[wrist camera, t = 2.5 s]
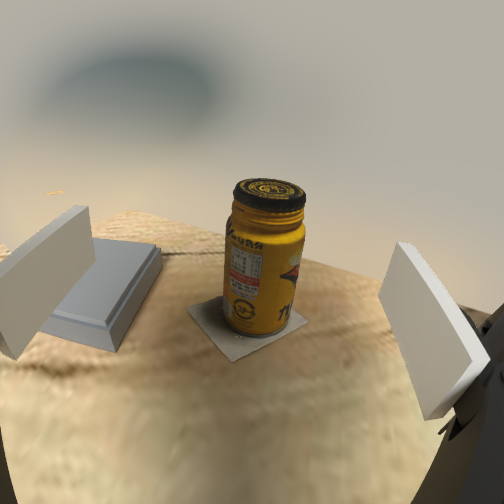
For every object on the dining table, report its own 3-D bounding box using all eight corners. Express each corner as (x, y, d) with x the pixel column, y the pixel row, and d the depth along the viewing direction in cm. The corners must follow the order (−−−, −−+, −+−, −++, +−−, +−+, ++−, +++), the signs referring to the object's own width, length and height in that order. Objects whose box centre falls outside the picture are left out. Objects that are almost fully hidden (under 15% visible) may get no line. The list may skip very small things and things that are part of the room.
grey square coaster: (162, 266, 33) (160, 243, 31) (115, 352, 21) (107, 325, 20) (63, 253, 33) (59, 232, 31) (3, 317, 22) (-8, 293, 20)
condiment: (308, 322, 27) (337, 196, 21) (231, 364, 22) (240, 216, 16) (258, 283, 32) (270, 169, 26) (186, 311, 27) (181, 181, 21)
